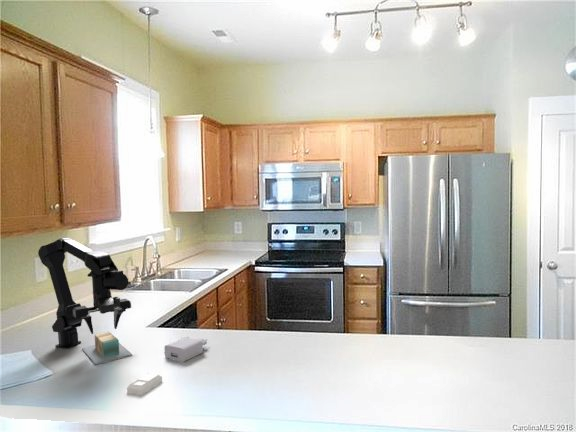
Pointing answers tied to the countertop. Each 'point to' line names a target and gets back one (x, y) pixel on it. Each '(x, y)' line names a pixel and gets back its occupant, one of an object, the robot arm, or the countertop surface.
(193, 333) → the countertop surface
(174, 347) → the charger
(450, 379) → the countertop surface
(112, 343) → the oak block
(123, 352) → the mat
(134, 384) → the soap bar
